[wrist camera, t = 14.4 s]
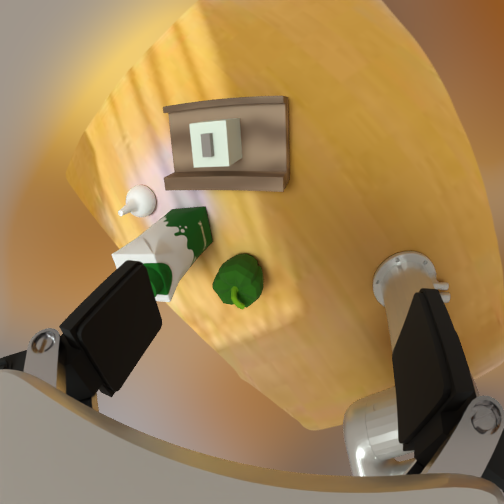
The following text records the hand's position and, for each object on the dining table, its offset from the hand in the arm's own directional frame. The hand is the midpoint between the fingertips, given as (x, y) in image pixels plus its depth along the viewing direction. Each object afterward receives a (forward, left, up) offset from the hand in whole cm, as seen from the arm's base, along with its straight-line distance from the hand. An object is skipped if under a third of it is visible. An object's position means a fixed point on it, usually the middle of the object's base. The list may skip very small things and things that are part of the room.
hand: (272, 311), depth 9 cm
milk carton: (+22, +14, -36) cm, 45 cm away
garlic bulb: (+32, +9, -37) cm, 49 cm away
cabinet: (+13, -2, -33) cm, 35 cm away
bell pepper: (+12, +22, -36) cm, 44 cm away
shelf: (+13, -1, -36) cm, 39 cm away
